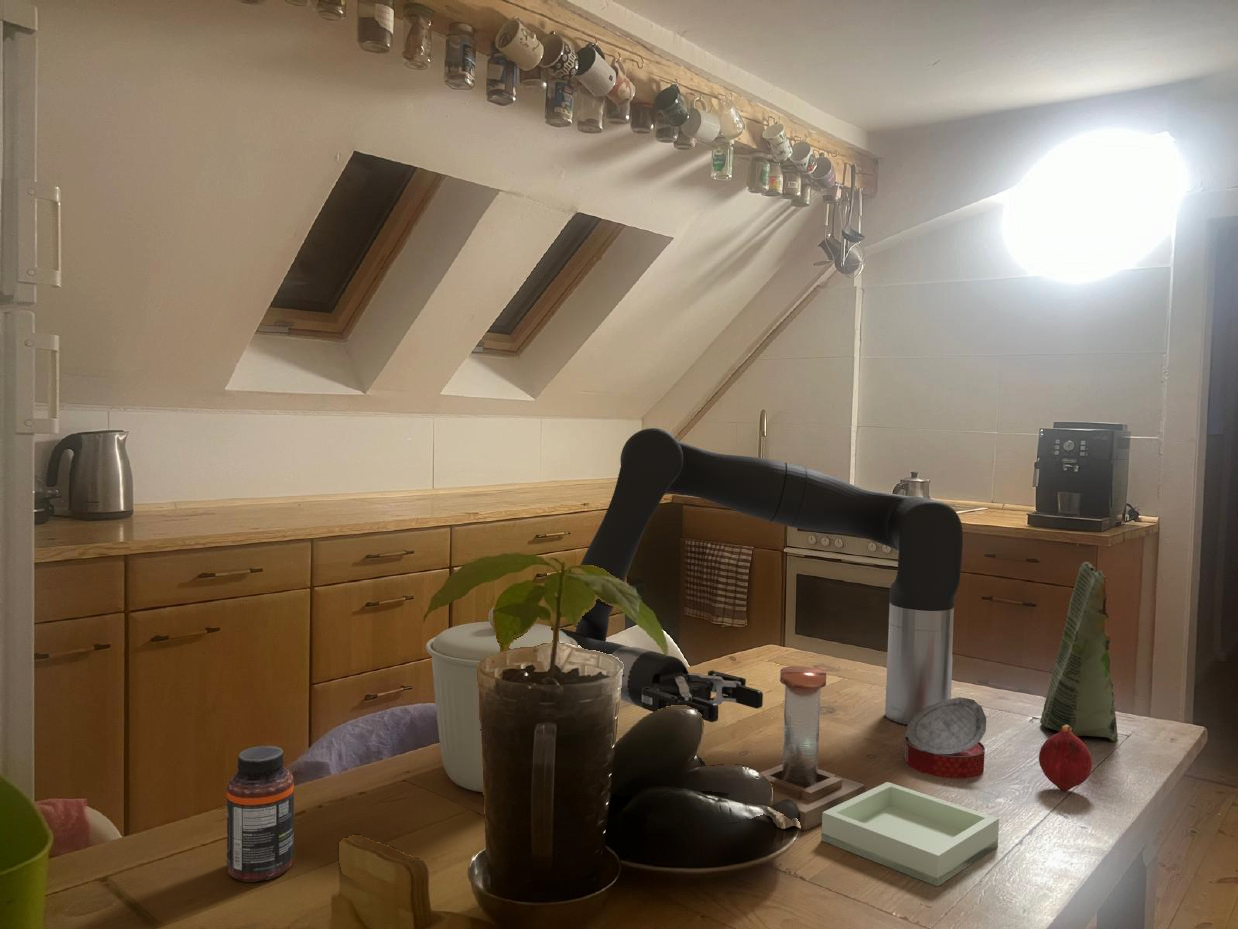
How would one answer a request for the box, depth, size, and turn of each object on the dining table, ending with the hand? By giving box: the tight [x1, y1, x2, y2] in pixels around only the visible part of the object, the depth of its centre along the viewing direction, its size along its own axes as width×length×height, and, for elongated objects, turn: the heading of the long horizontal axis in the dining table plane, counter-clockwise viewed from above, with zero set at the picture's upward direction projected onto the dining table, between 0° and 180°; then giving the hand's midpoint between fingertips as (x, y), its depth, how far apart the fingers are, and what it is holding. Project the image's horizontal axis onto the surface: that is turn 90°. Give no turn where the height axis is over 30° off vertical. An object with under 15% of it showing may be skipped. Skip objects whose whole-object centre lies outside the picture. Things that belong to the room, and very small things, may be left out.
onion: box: [1038, 725, 1093, 792], centre depth 113 cm, size 6×6×8 cm
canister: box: [425, 606, 578, 793], centre depth 113 cm, size 18×18×21 cm
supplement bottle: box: [226, 745, 295, 882], centre depth 88 cm, size 6×6×11 cm
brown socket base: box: [760, 764, 866, 832], centre depth 107 cm, size 14×10×3 cm
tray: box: [821, 781, 1000, 887], centre depth 98 cm, size 13×13×3 cm
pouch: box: [1039, 561, 1119, 742], centre depth 135 cm, size 11×12×25 cm
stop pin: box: [779, 665, 827, 788], centre depth 108 cm, size 5×5×13 cm
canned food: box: [903, 697, 987, 779], centre depth 122 cm, size 11×10×10 cm
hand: (739, 706), depth 114 cm, fingers open, 8 cm apart
